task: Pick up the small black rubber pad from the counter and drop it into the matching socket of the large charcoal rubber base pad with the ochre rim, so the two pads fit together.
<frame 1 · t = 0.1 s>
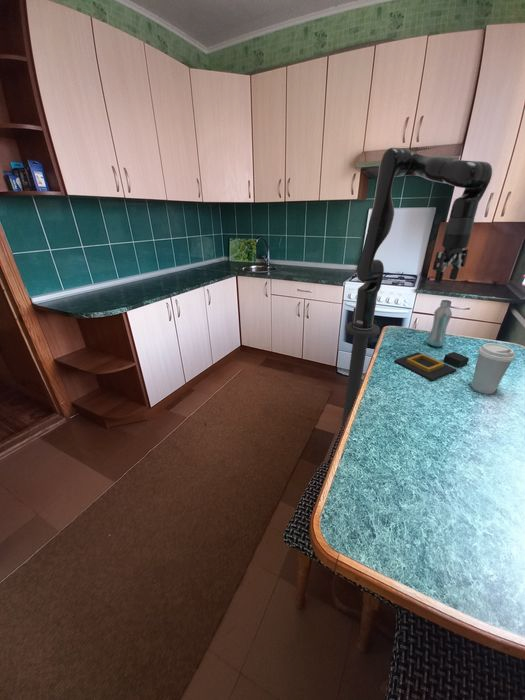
hand: (445, 280, 104), 31 cm above the table, tool pointing down, fingers open, 8 cm apart
black pad: (454, 363, 113), on the table
plastic bottle: (434, 345, 128), on the table
coffee cup: (482, 388, 98), on the table
base pad: (423, 366, 111), on the table
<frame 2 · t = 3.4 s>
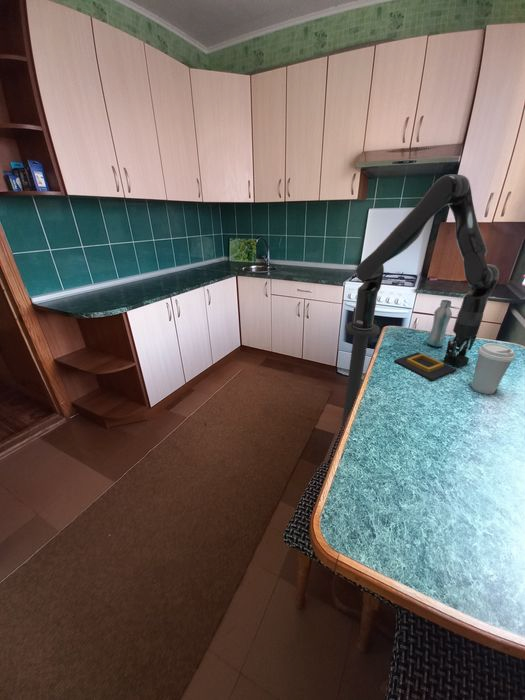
hand: (455, 361, 113), 1 cm above the table, tool pointing down, fingers closed on black pad, 5 cm apart
black pad: (454, 363, 113), on the table, touching gripper
everything else where it was.
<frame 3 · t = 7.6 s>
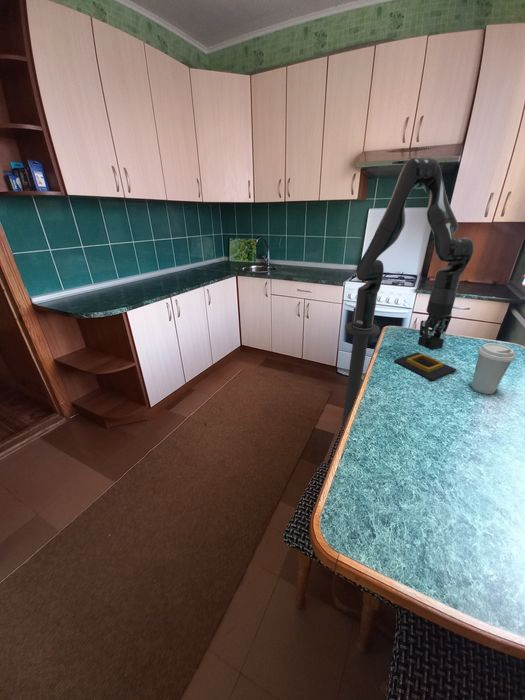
hand: (429, 344, 107), 10 cm above the table, tool pointing down, fingers closed on black pad, 5 cm apart
black pad: (429, 345, 107), point 9 cm above the table, touching gripper
everything else where it was.
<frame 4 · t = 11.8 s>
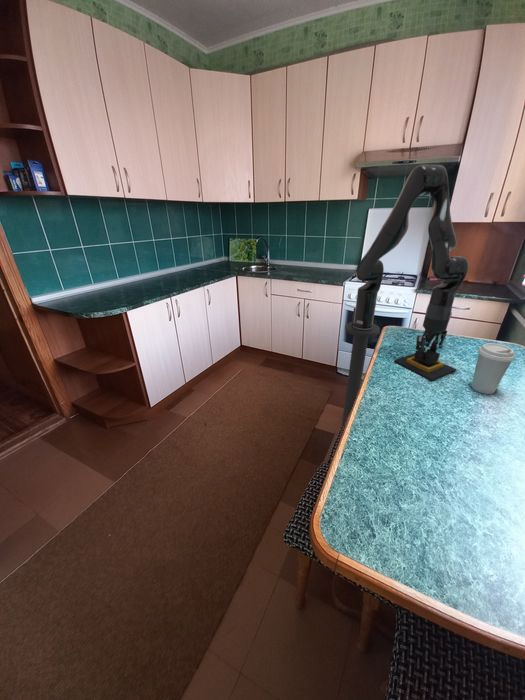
hand: (426, 357, 109), 4 cm above the table, tool pointing down, fingers closed on black pad, 5 cm apart
black pad: (425, 359, 110), point 3 cm above the table, touching gripper
everything else where it was.
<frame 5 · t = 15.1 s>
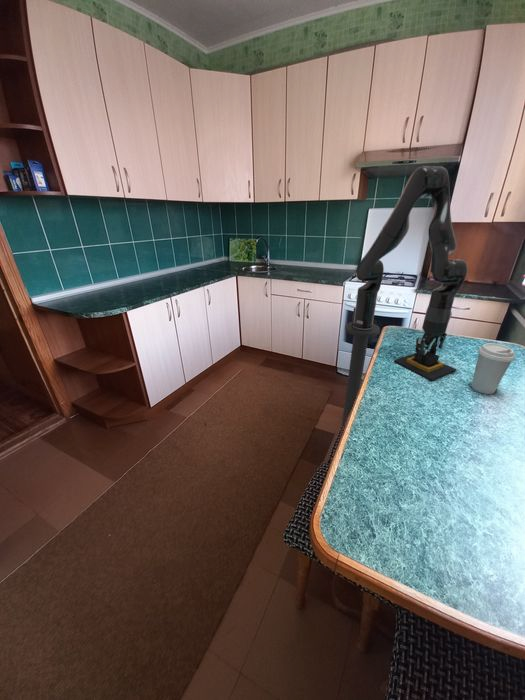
hand: (425, 360, 110), 3 cm above the table, tool pointing down, fingers closed on black pad, 5 cm apart
black pad: (425, 361, 110), point 2 cm above the table, touching gripper
everything else where it was.
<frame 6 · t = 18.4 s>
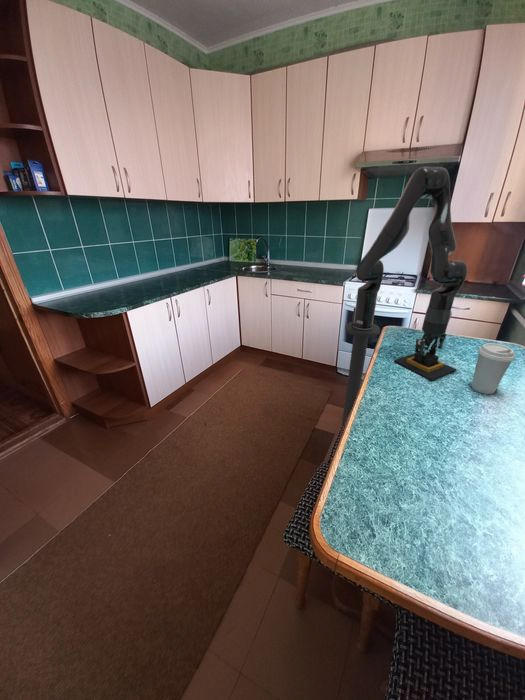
hand: (425, 360, 110), 3 cm above the table, tool pointing down, fingers closed on black pad, 5 cm apart
black pad: (425, 362, 110), point 2 cm above the table, touching gripper
everything else where it was.
when the fingers open (4 cm above the table, at t = 20.4 s): black pad drops 2 cm, resting on base pad.
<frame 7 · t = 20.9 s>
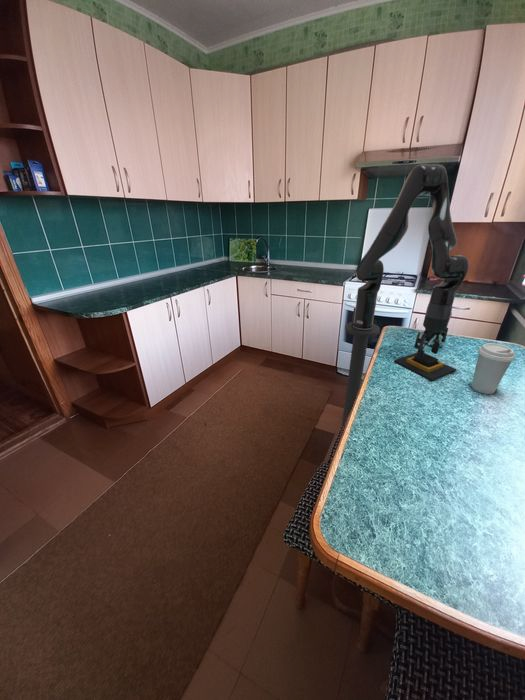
hand: (426, 355, 109), 5 cm above the table, tool pointing down, fingers open, 8 cm apart
black pad: (424, 364, 111), point 1 cm above the table, touching base pad
everything else where it was.
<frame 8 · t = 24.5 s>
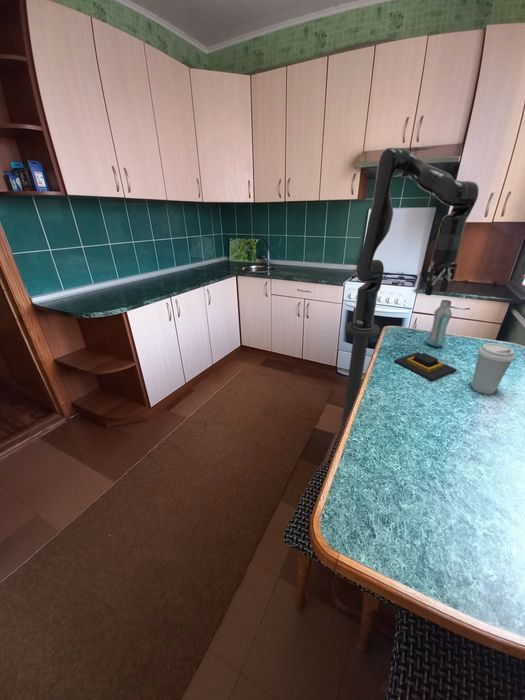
hand: (435, 293, 108), 26 cm above the table, tool pointing down, fingers open, 8 cm apart
nothing on the table moved.
at the end: black pad 0.2 cm off-centre on the base pad, point 1.0 cm above the base pad's base; black pad tilted 0°; the gripper is holding nothing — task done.
